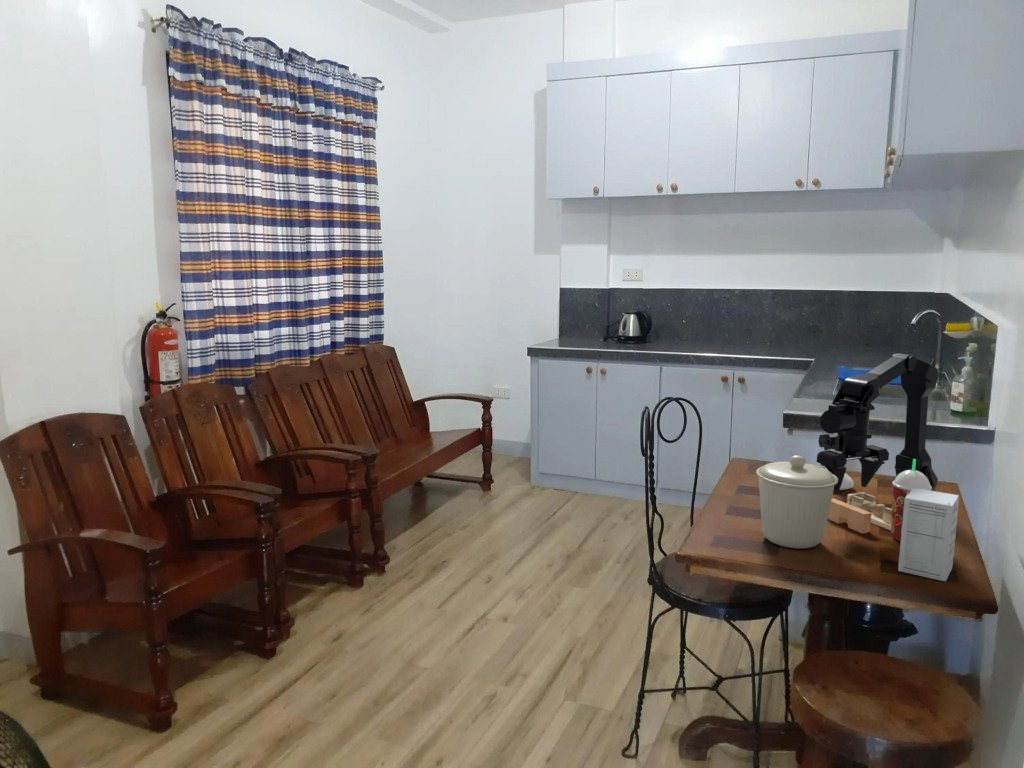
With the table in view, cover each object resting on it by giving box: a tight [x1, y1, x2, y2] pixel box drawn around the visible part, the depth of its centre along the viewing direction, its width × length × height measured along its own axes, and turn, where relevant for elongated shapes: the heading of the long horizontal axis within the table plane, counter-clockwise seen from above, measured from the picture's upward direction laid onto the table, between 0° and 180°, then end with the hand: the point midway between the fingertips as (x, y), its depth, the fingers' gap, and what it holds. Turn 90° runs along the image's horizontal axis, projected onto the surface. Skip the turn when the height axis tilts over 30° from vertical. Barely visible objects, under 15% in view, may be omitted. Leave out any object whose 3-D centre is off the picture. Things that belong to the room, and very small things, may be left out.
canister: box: [755, 454, 838, 549], centre depth 178 cm, size 18×18×21 cm
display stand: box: [846, 491, 892, 532], centre depth 195 cm, size 8×16×5 cm, turn 23°
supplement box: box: [897, 488, 960, 582], centre depth 163 cm, size 10×9×17 cm
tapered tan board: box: [827, 497, 872, 534], centre depth 191 cm, size 2×12×5 cm, turn 23°
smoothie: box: [890, 459, 933, 543], centre depth 180 cm, size 8×8×20 cm
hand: (850, 489), depth 190 cm, fingers open, 9 cm apart
